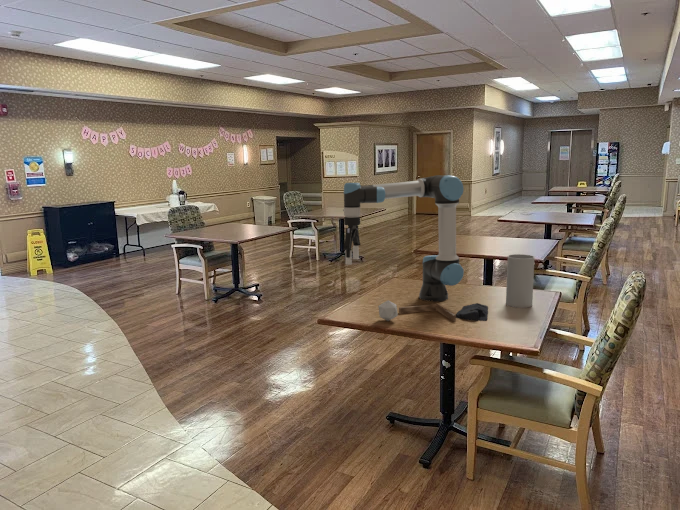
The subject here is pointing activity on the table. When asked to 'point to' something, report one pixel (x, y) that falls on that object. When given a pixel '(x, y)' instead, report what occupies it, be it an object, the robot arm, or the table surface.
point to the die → (388, 310)
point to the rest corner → (428, 308)
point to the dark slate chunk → (473, 312)
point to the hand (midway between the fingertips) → (352, 261)
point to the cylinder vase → (520, 280)
